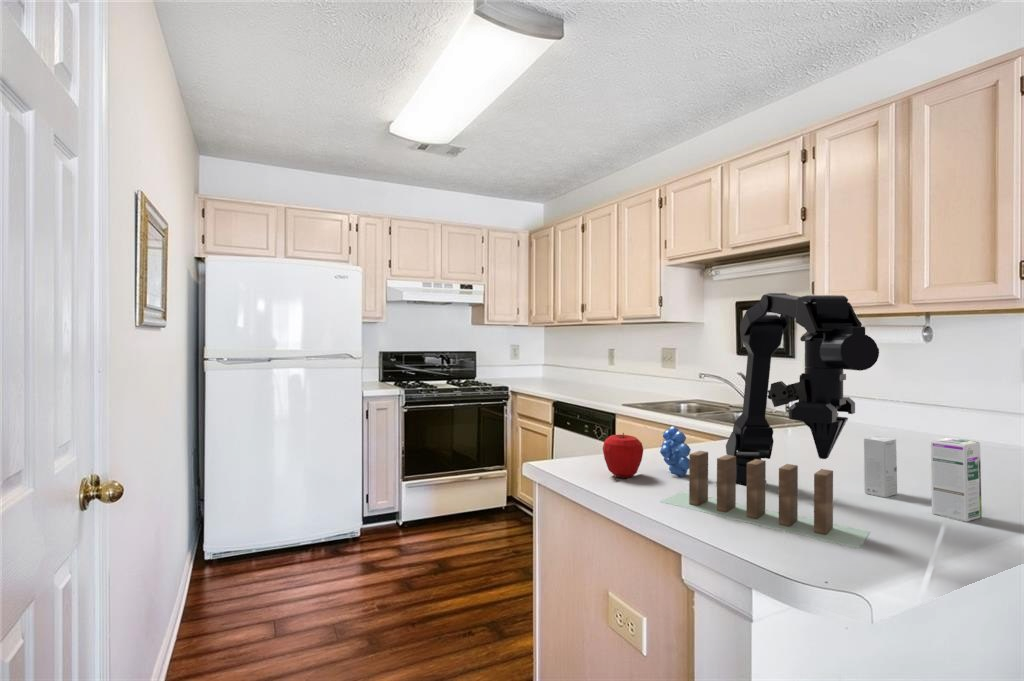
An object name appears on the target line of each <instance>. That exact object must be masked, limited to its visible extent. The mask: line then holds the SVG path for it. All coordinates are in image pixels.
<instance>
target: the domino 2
mask: <svg viewBox="0 0 1024 681" xmlns="http://www.w3.org/2000/svg"><path fill="white" fill-rule="evenodd" d="M736 489H737V484H736V456H732V455H727V454H725V455H722V456H720V457H717V458H716V499H717V511H721V512H725V513H727V512H728V511H730V510H732V509H733V508H735V507H736V503H737V501H736V500H737V498H736V497H737V496H736V493H737V490H736Z"/></svg>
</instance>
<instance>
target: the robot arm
mask: <svg viewBox="0 0 1024 681" xmlns="http://www.w3.org/2000/svg"><path fill="white" fill-rule="evenodd" d="M768 313H774V314H768ZM856 314H857V313H855V310H854V308H853V306H852V304H851V303H850V302H849V299H848V298H847V296H845V295H834V294H833V295H811V294H810V295H809V294H807V295H802V296H798V295H791V294H787V293H786V292H785V293H784V292H780V293H779V292H777V293H776V292H771V293H770V292H768V293H766V294H763V295H762V296H761V298H760V300H759V301H758V302H757V303H755V304H754V305H753V306H751V307H750V308H748V309H747V310H746V311H745V313H744V314H743V317H742V319H741V321H740V324H739V332H740V335H741V339H740V340H741V343H742V344H743V346H744V347H745V349H746V351H747V359H746V361H747V362H746V371H745V380H744V381H745V382H744V383H745V384H744V390H743V391H744V393H743V404H742V413H741V414H740V415H739V416H738V418H736V420H735V421H734V422H733V428H732V431H731V433H730V435H729V437H728V439H727V442H726V444H725V453H726V455H732V456H736V485H742V486H746V487H747V463H748V462H750V461H753V460H755V459H758V460H762V459H767V460H769V459H771V457H772V451H773V448H774V446H773V445H774V437H773V435H774V430H773V428H772V427H771V425H770V424H769V422H768V420H767V418H766V413H767V403H768V399H769V400H770V401H771V403H772V406H773V407H774V408H776V407H777V408H778V407H781V406H784V405H788V404H790V403H791V402H794V403H793V404H791V406H789V407H788V419H789V420H793V421H800V422H802V423H804V424H805V426H807V428H809V429H810V432H811V436H812V438H813V441H814V445H815V448H816V453H817V455H818V456H817V457H818V458H819V459H822V460H827V459H828V458H829V456H830V455H831V452H832V450H833V449H834V447H835V444H836V442H837V441H838V438H839V436H840V435H841V432H842V431H843V428H844V426H846V423H847V422H848V420H849V417H847V416H845V417H844V416H839V412H841V413H847V414H848V415H853V414H855V413H856V402H855V401H854V400H853V399H852V398H850V397H849V396H844V381H846V380H847V374H846V373H844V370H847V371H848V370H849V371H865V370H869V369H870V368H872V367H873V366H874V365H875V364H876V363H877V362H878V359H879V358H880V357H879V356H880V349H879V347H878V345H877V343H876V341H875V340H874V339H873V338H872V337H871V336H870V335H868V334H866V327H865V326H862V325H863V324H862V322H861V320H860V319H859V318H858V316H857V315H856ZM789 317H790V318H794V319H795V323H796V324H798V325H799V326H801V327H802V328H804V329H805V333H803V334H802V335H801V336H800V342H804V372H803V373H801V374H800V375H799V382H794V383H791V384H786V383H785V382H784V381H782V380H779V381H776V382H773V383H770V373H771V362H772V356H773V354H774V353H775V352H776V351H777V350H778V348H779V347H780V346H781V344H782V340H783V339H782V338H783V335H784V334H785V332H786V331H787V329H788V327H789V325H791V321H790V318H789ZM769 383H770V384H769ZM769 385H770V387H769ZM769 388H770V389H769Z"/></svg>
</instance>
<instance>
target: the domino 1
mask: <svg viewBox="0 0 1024 681" xmlns="http://www.w3.org/2000/svg"><path fill="white" fill-rule="evenodd" d="M688 456H689V458H688V459H689V469H688V471H689V472H688V475H689V480H688V482H689V483H688V484H689V486H688V488H689V490H688V493H689V504H690V505H694V506H700V505H701V504H703V503H705V502H707V501H708V497H709V452H708V451H703V450H698V451H695V452H692V453H691V452H690V454H689V455H688Z"/></svg>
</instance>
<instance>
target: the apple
mask: <svg viewBox="0 0 1024 681" xmlns="http://www.w3.org/2000/svg"><path fill="white" fill-rule="evenodd" d="M602 452H603V458H604V461H605V463H606V467H607V469H608V471H609V472H610V473H611V474H612V475H613V476H614V477H616V478H623V479H624V478H625V479H630V478H633V476H634V475H636V474H637V472H638V471H639V468H640V465H641V464H642V460H643V456H644V446H643V443H642V442H641V441H640V440H639V439H638V438H637V437H636V436H633V435H629V434H625V433H624V432H622V434H612V435H610V436H608V437H607V438H605V440H604V442H603V446H602Z"/></svg>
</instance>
